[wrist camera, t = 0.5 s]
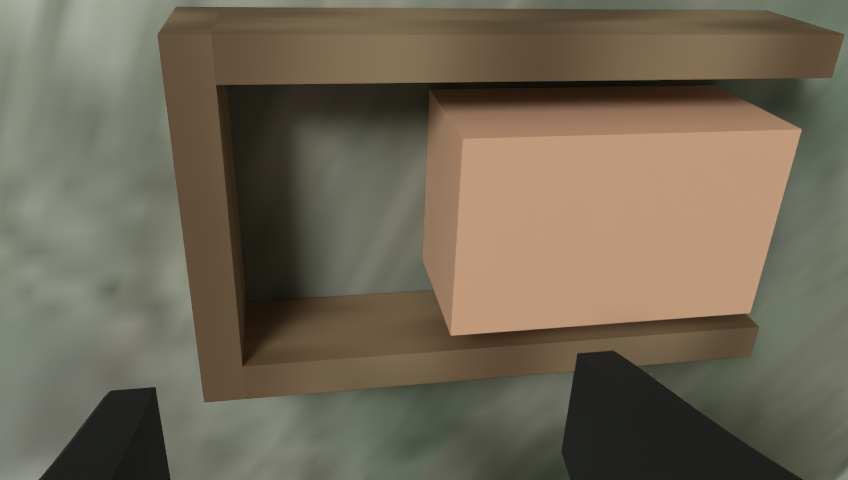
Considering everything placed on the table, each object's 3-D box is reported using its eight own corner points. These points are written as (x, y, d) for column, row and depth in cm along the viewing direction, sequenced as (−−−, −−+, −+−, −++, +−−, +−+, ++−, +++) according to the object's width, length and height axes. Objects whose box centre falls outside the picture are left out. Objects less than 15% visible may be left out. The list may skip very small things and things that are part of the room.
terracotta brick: (711, 82, 20) (802, 129, 17) (676, 243, 23) (750, 313, 19) (427, 87, 19) (462, 138, 15) (421, 257, 21) (450, 335, 18)
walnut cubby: (767, 10, 19) (844, 34, 17) (697, 300, 23) (750, 356, 21) (176, 7, 17) (157, 34, 14) (213, 334, 21) (204, 402, 18)
